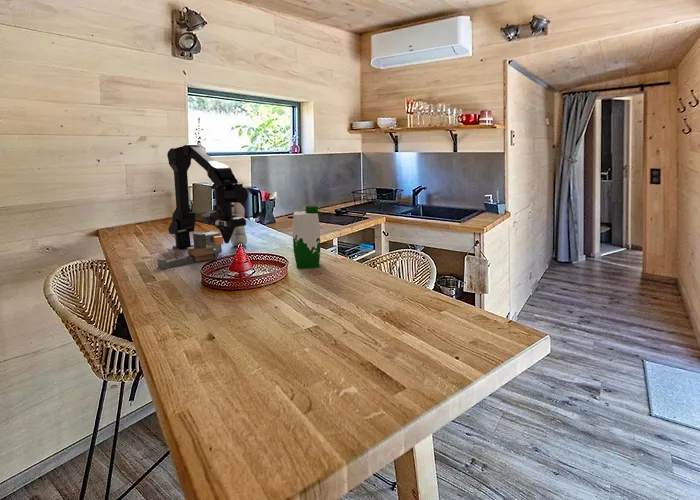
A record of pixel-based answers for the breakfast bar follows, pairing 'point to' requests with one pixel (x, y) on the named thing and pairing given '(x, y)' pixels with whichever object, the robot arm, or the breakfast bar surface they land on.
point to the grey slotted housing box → (209, 242)
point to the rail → (178, 261)
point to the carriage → (200, 248)
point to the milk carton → (306, 238)
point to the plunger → (217, 240)
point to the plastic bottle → (239, 232)
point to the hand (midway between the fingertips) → (226, 243)
